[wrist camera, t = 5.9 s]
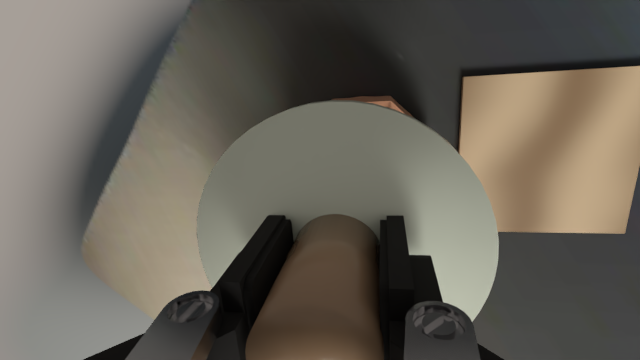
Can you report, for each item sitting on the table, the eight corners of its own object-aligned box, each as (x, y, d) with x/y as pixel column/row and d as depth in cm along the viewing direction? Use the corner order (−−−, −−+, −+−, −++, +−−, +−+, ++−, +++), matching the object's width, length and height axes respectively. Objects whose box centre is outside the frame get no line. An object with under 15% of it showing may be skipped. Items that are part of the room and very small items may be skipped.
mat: (656, 64, 19) (661, 64, 19) (620, 230, 22) (624, 233, 22) (462, 76, 21) (463, 77, 21) (454, 228, 24) (455, 231, 24)
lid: (505, 91, 10) (628, 119, 5) (479, 365, 13) (539, 550, 8) (184, 107, 12) (41, 140, 7) (228, 346, 15) (151, 488, 10)
